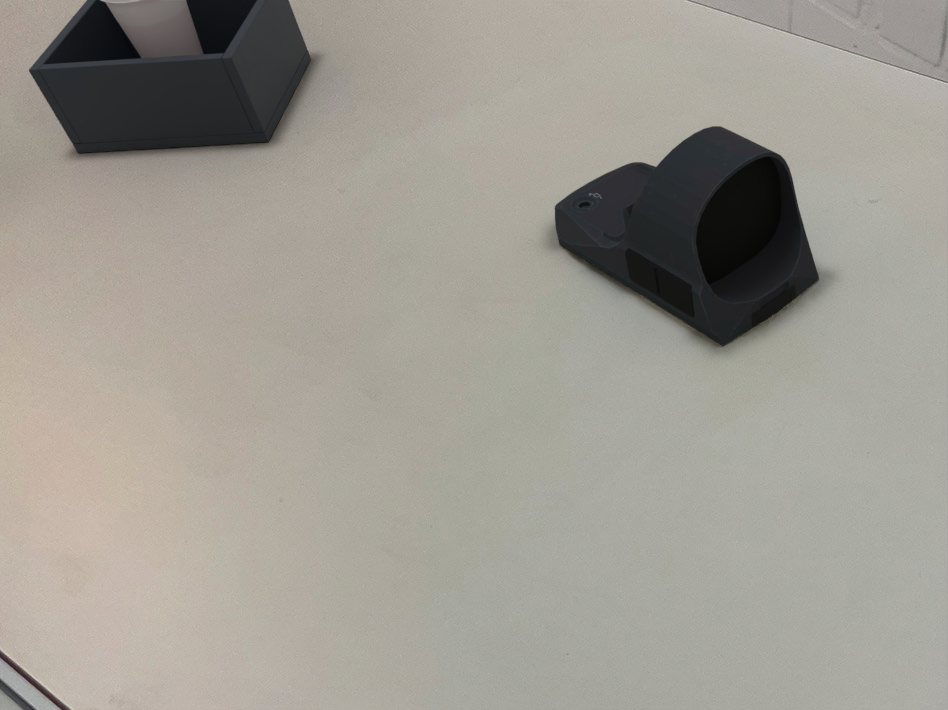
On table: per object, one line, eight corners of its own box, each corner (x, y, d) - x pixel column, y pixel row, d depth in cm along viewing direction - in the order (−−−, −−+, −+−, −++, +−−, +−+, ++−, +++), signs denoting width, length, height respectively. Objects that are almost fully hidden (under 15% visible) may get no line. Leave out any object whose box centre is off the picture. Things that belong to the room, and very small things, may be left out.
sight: (639, 180, 78) (618, 43, 71) (822, 280, 70) (821, 137, 62) (540, 237, 75) (506, 100, 67) (721, 351, 66) (706, 208, 58)
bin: (77, 153, 86) (27, 70, 80) (137, 69, 94) (95, -12, 89) (268, 142, 85) (231, 57, 80) (311, 58, 93) (280, -24, 88)
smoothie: (245, 90, 89) (163, -96, 78) (175, 122, 86) (80, -66, 75) (207, 67, 92) (123, -115, 81) (138, 98, 89) (41, -86, 78)
